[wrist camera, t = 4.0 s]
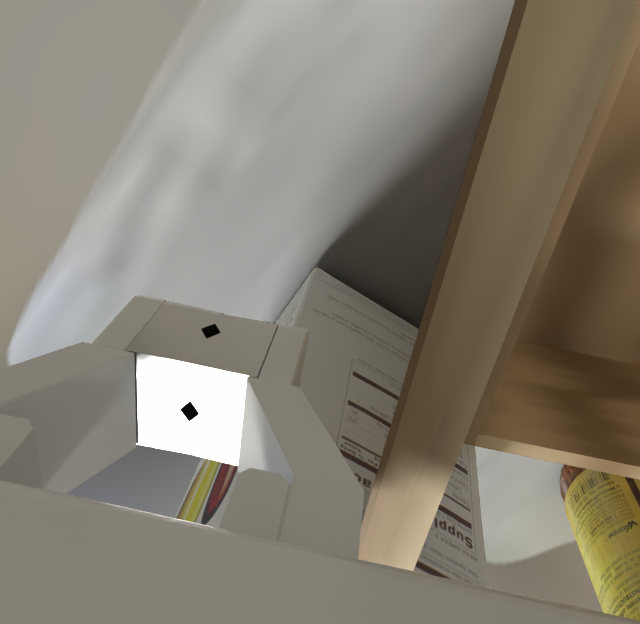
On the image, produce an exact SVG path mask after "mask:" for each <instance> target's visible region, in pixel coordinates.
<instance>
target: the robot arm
mask: <svg viewBox="0 0 640 624" xmlns="http://www.w3.org/2000/svg"><path fill="white" fill-rule="evenodd" d="M308 335H309V332H308V329H304V328H298V327H292V326H286V325H278V324H274V323H268V322H263V321H257V320H252V319H246V318H240V317H235V316H229V315H224V314H223V313H219V312H214V311H210V310H206V309H201V308H197V307H192V306H188V305H184V304H179V303H175V302H170V301H168V302H167V301H166V300H162V299H157V298H152V297H146V296H141V295H140V296H135V297H134V298H133V299H132V300H131V301H130V302H129V303H128V304H127V305H126V306H125V307H124V308H123V310H122V311H121V312H120V313H119V314H118V315H117V316H116V317H115V318H114V320H113V321H112V322H111V323H110V324H109V325H108V326H107V327H106V328H105V329H104V331H103V332H102V333H101V334H100V335H99V336H98V337H97V338H96V339H95V340H94V342H93V343H92V344H90V343H85V342H81V343H78V344H75V345H72V346H69V347H66V348H63V349H60V350H57V351H54V352H51V353H48V354H45V355H42V356H39V357H36V358H33V359H30V360H27V361H24V362H21V363H18V364H15V365H12V366H9V367H6V368H3V369H0V624H640V621H638V620H634V619H629V618H625V617H620V616H616V615H611V614H607V613H602V612H598V611H593V610H589V609H584V608H579V607H575V606H570V605H566V604H561V603H557V602H552V601H548V600H543V599H538V598H534V597H530V596H525V595H520V594H516V593H512V592H507V591H503V590H498V589H493V588H489V587H484V586H480V585H475V584H471V583H466V582H461V581H457V580H452V579H448V578H443V577H438V576H434V575H429V574H425V573H420V572H415V571H411V570H406V569H401V568H397V567H392V566H388V565H383V564H378V563H374V562H369V561H365V560H360V559H358V556H359V544H360V532H361V520H362V509H363V497H364V489H363V488H362V486H361V485H360V483H359V481H358V480H357V478H356V476H355V475H354V473H353V472H352V470H351V468H350V467H349V465H348V463H347V462H346V460H345V458H344V457H343V455H342V454H341V452H340V450H339V449H338V447H337V445H336V444H335V442H334V441H333V439H332V437H331V436H330V434H329V432H328V431H327V429H326V428H325V426H324V424H323V423H322V421H321V419H320V418H319V416H318V414H317V413H316V411H315V410H314V408H313V406H312V405H311V403H310V401H309V400H308V398H307V397H306V395H305V393H304V392H303V390H302V388H300V382H301V377H302V371H303V365H304V360H305V354H306V348H307V343H308ZM136 444H139V445H144V446H149V447H155V448H160V449H165V450H171V451H176V452H182V453H187V454H191V455H196V456H200V457H203V458H207V459H212V460H216V461H220V462H224V463H228V464H232V465H236V466H238V471H239V475H238V478H237V480H236V483H235V486H234V488H233V491H232V494H231V496H230V499H229V502H228V505H227V507H226V510H225V513H224V515H223V518H222V521H221V523H220V526H219V528H217V527H212V526H208V525H203V524H199V523H194V522H190V521H185V520H181V519H176V518H171V517H167V516H163V515H158V514H154V513H149V512H144V511H140V510H136V509H131V508H126V507H122V506H117V505H113V504H108V503H104V502H99V501H94V500H90V499H85V498H81V497H76V496H72V495H67V494H66V493H67V492H69V491H70V490H72V489H73V488H75V487H76V486H78V485H79V484H81V483H83V482H84V481H86V480H87V479H89V478H90V477H91V476H93V475H95V474H96V473H98V472H99V471H101V470H102V469H104V468H105V467H107V466H108V465H110V464H111V463H113V462H114V461H116V460H117V459H119V458H121V457H122V456H123V455H125V454H126V453H128V452H130V451H131V450H133V449H134V448H136V446H137V445H136Z"/></svg>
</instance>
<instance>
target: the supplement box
mask: <svg viewBox="0 0 640 624" xmlns="http://www.w3.org/2000/svg"><path fill="white" fill-rule="evenodd" d="M275 324H278V325H286V326H292V327H298V328H304V329H308V332H309V335H308V343H307V348H306V354H305V360H304V365H303V371H302V377H301V382H300V388H302V390H303V392H304V393H305V395H306V397H307V398H308V400H309V401H310V403H311V405H312V406H313V408H314V410H315V411H316V413H317V414H318V416H319V418H320V419H321V421H322V423H323V424H324V426H325V428H326V429H327V431H328V432H329V434H330V436H331V437H332V439H333V441H334V442H335V444H336V445H337V447H338V449H339V450H340V452H341V454H342V455H343V457H344V458H345V460H346V462H347V463H348V465H349V467H350V468H351V470H352V472H353V473H354V475H355V476H356V478H357V480H358V481H359V483H360V485H361V486H362V488H363V489H364V497H363V509H362V520H361V525H362V522H363V518H364V515H365V511H366V508H367V505H368V501H369V498H370V494H371V491H372V488H373V484H374V481H375V477H376V474H377V471H378V467H379V464H380V460H381V457H382V454H383V450H384V447H385V443H386V440H387V436H388V433H389V430H390V426H391V423H392V419H393V416H394V413H395V409H396V406H397V402H398V399H399V396H400V392H401V389H402V385H403V382H404V379H405V375H406V372H407V368H408V365H409V361H410V358H411V355H412V351H413V348H414V344H415V341H416V338H417V334H418V331H419V329H418V328H416V327H414V326H413V325H411V324H409V323H408V322H406V321H405V320H403V319H401V318H400V317H398V316H396V315H395V314H393V313H391V312H390V311H388V310H386V309H385V308H383V307H381V306H380V305H378V304H376V303H375V302H373V301H372V300H370V299H368V298H367V297H365V296H363V295H362V294H360V293H359V292H357V291H355V290H353V289H352V288H350V287H348V286H347V285H345V284H344V283H342V282H340V281H339V280H337V279H335V278H334V277H332V276H331V275H329V274H327V273H326V272H324V271H323V270H321V269H319V268H314V269H313V271H312V272H311V273H310V275H309V276H308V278H307V279H306V280H305V282H304V283H303V285H302V286H301V288H300V289H299V290H298V292H297V293H296V295H295V296H294V297H293V299H292V300H291V302H290V303H289V304H288V306H287V307H286V308H285V310H284V311H283V313H282V314H281V315H280V317H279V318H278V320H277V321H276V322H275ZM238 475H239V471H238V466H236V465H232V464H228V463H224V462H220V461H216V460H212V459H207V458H203V457H202V458H201V461H200V463H199V465H198V467H197V470H196V472H195V474H194V476H193V479H192V481H191V483H190V485H189V487H188V490H187V492H186V494H185V497H184V499H183V501H182V503H181V506H180V508H179V510H178V512H177V515H176V517H175V518H176V519H181V520H185V521H190V522H194V523H199V524H203V525H208V526H212V527H217V528H219V526H220V523H221V521H222V518H223V515H224V513H225V510H226V507H227V505H228V502H229V499H230V496H231V494H232V491H233V488H234V486H235V483H236V480H237V478H238ZM413 571H415V572H420V573H425V574H429V575H434V576H438V577H443V578H448V579H452V580H457V581H461V582H466V583H471V584H475V585H480V586H484V587H488V581H487V570H486V557H485V549H484V540H483V530H482V521H481V510H480V497H479V487H478V478H477V467H476V455H475V447H474V446H473V445H468V444H463V446H462V448H461V451H460V453H459V456H458V458H457V461H456V464H455V466H454V469H453V471H452V474H451V476H450V479H449V481H448V484H447V486H446V489H445V492H444V494H443V497H442V499H441V502H440V504H439V507H438V509H437V512H436V514H435V517H434V519H433V522H432V525H431V527H430V530H429V532H428V535H427V537H426V540H425V542H424V545H423V547H422V550H421V553H420V555H419V558H418V560H417V563H416V565H415V568H414V570H413Z"/></svg>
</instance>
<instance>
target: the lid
mask: <svg viewBox="0 0 640 624" xmlns="http://www.w3.org/2000/svg"><path fill="white" fill-rule="evenodd" d="M637 1H638V0H515V4H514V7H513V10H512V14H511V17H510V21H509V24H508V27H507V31H506V34H505V38H504V41H503V44H502V48H501V51H500V55H499V58H498V61H497V65H496V68H495V72H494V75H493V79H492V82H491V85H490V89H489V92H488V96H487V99H486V102H485V106H484V109H483V113H482V116H481V119H480V123H479V126H478V130H477V133H476V136H475V140H474V143H473V147H472V150H471V154H470V157H469V160H468V164H467V167H466V171H465V174H464V177H463V181H462V184H461V188H460V191H459V194H458V198H457V201H456V205H455V208H454V211H453V215H452V218H451V222H450V225H449V229H448V232H447V235H446V239H445V242H444V246H443V249H442V252H441V256H440V259H439V263H438V266H437V269H436V273H435V276H434V280H433V283H432V286H431V290H430V293H429V297H428V300H427V304H426V307H425V310H424V314H423V317H422V321H421V324H420V327H419V331H418V334H417V338H416V341H415V344H414V348H413V351H412V355H411V358H410V361H409V365H408V368H407V372H406V375H405V379H404V382H403V385H402V389H401V392H400V396H399V399H398V402H397V406H396V409H395V413H394V416H393V419H392V423H391V426H390V430H389V433H388V436H387V440H386V443H385V447H384V450H383V454H382V457H381V460H380V464H379V467H378V471H377V474H376V477H375V481H374V484H373V488H372V491H371V494H370V498H369V501H368V505H367V508H366V511H365V515H364V518H363V522H362V525H361V532H360V544H359V556H358V559H360V560H365V561H369V562H374V563H378V564H383V565H388V566H392V567H397V568H401V569H406V570H411V571H413V570H414V568H415V565H416V563H417V560H418V558H419V555H420V553H421V550H422V547H423V545H424V542H425V540H426V537H427V535H428V532H429V530H430V527H431V525H432V522H433V519H434V517H435V514H436V512H437V509H438V507H439V504H440V502H441V499H442V497H443V494H444V492H445V489H446V486H447V484H448V481H449V479H450V476H451V474H452V471H453V469H454V466H455V464H456V461H457V458H458V456H459V453H460V451H461V448H462V446H463V443H464V441H465V438H466V436H467V433H468V431H469V428H470V425H471V423H472V420H473V418H474V415H475V413H476V410H477V408H478V405H479V403H480V400H481V397H482V395H483V392H484V390H485V387H486V385H487V382H488V380H489V377H490V375H491V372H492V370H493V367H494V364H495V362H496V359H497V357H498V354H499V352H500V349H501V347H502V344H503V342H504V339H505V336H506V334H507V331H508V329H509V326H510V324H511V321H512V319H513V316H514V314H515V311H516V309H517V306H518V303H519V301H520V298H521V296H522V293H523V291H524V288H525V286H526V283H527V281H528V278H529V275H530V273H531V270H532V268H533V265H534V263H535V260H536V258H537V255H538V253H539V250H540V248H541V245H542V242H543V240H544V237H545V235H546V232H547V230H548V227H549V225H550V222H551V220H552V217H553V214H554V212H555V209H556V207H557V204H558V202H559V199H560V197H561V194H562V192H563V189H564V186H565V184H566V181H567V179H568V176H569V174H570V171H571V169H572V166H573V164H574V161H575V159H576V156H577V153H578V151H579V148H580V146H581V143H582V141H583V138H584V136H585V133H586V131H587V128H588V125H589V123H590V120H591V118H592V115H593V113H594V110H595V108H596V105H597V103H598V100H599V98H600V95H601V92H602V90H603V87H604V85H605V82H606V80H607V77H608V75H609V72H610V70H611V67H612V64H613V62H614V59H615V57H616V54H617V52H618V49H619V47H620V44H621V42H622V39H623V37H624V34H625V31H626V29H627V26H628V24H629V21H630V19H631V16H632V14H633V11H634V9H635V6H636V3H637Z"/></svg>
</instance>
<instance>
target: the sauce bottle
mask: <svg viewBox="0 0 640 624" xmlns="http://www.w3.org/2000/svg"><path fill="white" fill-rule="evenodd" d="M560 489H561V495H562V498H563V500H564V502H565V511H566V514H567V517H568V519H569V522H570V525H571V527H572V530H573V533H574V535H575V538H576V541H577V544H578V546H579V549H580V551H581V554H582V557H583V560H584V562H585V565H586V567H587V570H588V573H589V575H590V578H591V580H592V583H593V586H594V588H595V591H596V594H597V596H598V599H599V602H600V605H601V608H602V610H603V613H607V614H611V615H616V616H620V617H625V618H629V619H634V620H638V621H640V480H639V479H634V478H629V477H624V476H619V475H614V474H609V473H605V472H600V471H595V470H590V469H585V468H580V467H575V466H570V465H566V464H565V465H564V467H563V468H562V470H561V476H560Z"/></svg>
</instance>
